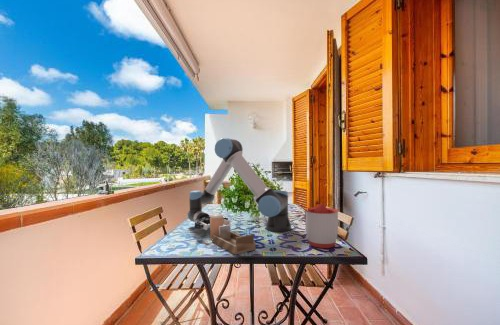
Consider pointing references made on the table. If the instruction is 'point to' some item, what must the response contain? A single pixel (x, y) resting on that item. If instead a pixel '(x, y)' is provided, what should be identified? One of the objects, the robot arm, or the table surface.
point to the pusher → (224, 232)
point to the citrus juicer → (321, 226)
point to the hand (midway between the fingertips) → (218, 225)
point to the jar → (215, 224)
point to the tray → (236, 243)
